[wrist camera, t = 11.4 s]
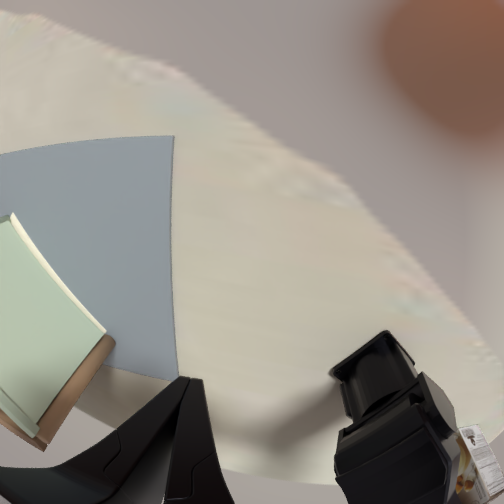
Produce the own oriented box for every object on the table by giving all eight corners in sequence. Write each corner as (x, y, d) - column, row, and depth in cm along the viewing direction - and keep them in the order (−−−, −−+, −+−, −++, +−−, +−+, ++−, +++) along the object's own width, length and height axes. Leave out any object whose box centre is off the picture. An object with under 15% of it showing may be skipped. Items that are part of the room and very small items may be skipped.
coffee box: (448, 453, 32) (471, 515, 17) (426, 458, 32) (447, 526, 17) (478, 422, 29) (510, 487, 14) (457, 427, 29) (489, 500, 13)
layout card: (174, 136, 18) (172, 135, 18) (179, 379, 26) (178, 383, 26) (-7, 156, 19) (-11, 157, 19) (22, 333, 27) (20, 334, 26)
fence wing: (6, 211, 21) (-91, 254, 8) (118, 342, 24) (49, 446, 12) (2, 222, 21) (-90, 267, 8) (111, 349, 25) (45, 448, 12)
